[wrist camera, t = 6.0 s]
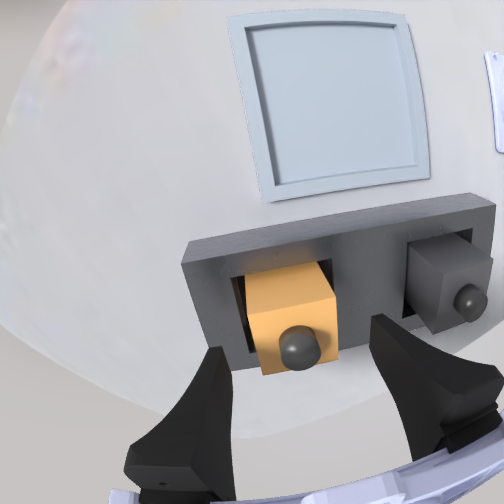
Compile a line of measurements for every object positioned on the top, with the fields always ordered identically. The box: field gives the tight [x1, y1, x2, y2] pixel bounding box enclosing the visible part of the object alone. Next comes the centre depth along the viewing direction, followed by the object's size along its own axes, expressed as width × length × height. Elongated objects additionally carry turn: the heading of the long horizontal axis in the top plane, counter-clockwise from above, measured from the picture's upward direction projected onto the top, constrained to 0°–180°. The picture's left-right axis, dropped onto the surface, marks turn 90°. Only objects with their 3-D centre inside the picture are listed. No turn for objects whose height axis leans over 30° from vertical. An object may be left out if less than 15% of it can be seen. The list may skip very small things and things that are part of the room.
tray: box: [226, 9, 430, 203], centre depth 14 cm, size 11×11×1 cm
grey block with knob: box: [404, 232, 493, 335], centre depth 16 cm, size 4×4×7 cm
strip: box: [181, 193, 496, 371], centre depth 18 cm, size 20×8×3 cm, turn 101°
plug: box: [245, 261, 338, 375], centre depth 16 cm, size 4×4×7 cm
